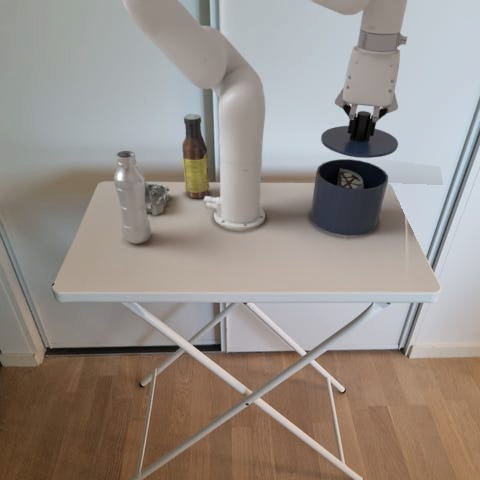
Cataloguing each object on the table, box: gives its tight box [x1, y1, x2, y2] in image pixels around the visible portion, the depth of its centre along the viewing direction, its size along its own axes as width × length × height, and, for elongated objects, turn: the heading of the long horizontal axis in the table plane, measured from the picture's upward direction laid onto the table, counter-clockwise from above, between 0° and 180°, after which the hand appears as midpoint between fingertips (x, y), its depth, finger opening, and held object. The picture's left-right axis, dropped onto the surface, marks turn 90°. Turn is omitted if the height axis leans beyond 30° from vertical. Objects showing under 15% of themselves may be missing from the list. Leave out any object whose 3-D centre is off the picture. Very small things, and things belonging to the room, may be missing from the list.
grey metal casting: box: [145, 182, 170, 216], centre depth 117 cm, size 11×8×4 cm
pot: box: [310, 158, 389, 236], centre depth 111 cm, size 16×16×12 cm
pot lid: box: [320, 110, 399, 159], centre depth 100 cm, size 17×17×7 cm
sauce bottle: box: [181, 113, 210, 199], centre depth 116 cm, size 7×6×20 cm
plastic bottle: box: [113, 150, 152, 244], centre depth 99 cm, size 6×7×20 cm
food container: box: [337, 169, 364, 189], centre depth 111 cm, size 12×6×10 cm, turn 168°
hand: (359, 137), depth 101 cm, fingers closed on pot lid, 2 cm apart
